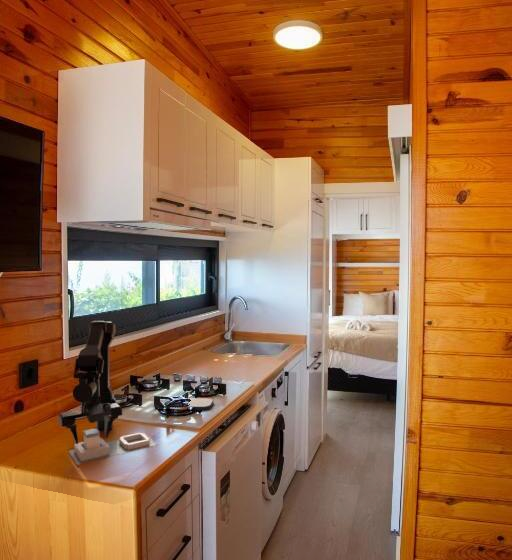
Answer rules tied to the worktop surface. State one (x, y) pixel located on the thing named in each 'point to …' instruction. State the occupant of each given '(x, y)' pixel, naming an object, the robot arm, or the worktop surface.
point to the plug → (91, 439)
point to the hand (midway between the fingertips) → (91, 440)
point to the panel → (110, 448)
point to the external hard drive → (200, 403)
